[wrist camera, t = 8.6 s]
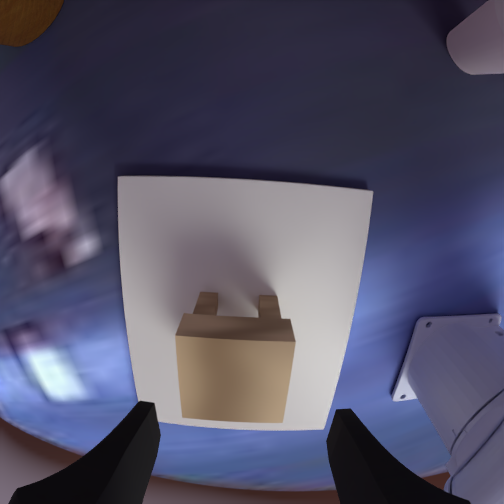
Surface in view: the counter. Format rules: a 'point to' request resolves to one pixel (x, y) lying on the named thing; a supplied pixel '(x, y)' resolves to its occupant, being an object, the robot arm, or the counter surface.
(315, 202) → the cutting board
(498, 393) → the robot arm
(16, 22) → the disposable coffee cup
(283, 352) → the stool
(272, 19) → the counter surface
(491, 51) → the smoothie
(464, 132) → the counter surface
